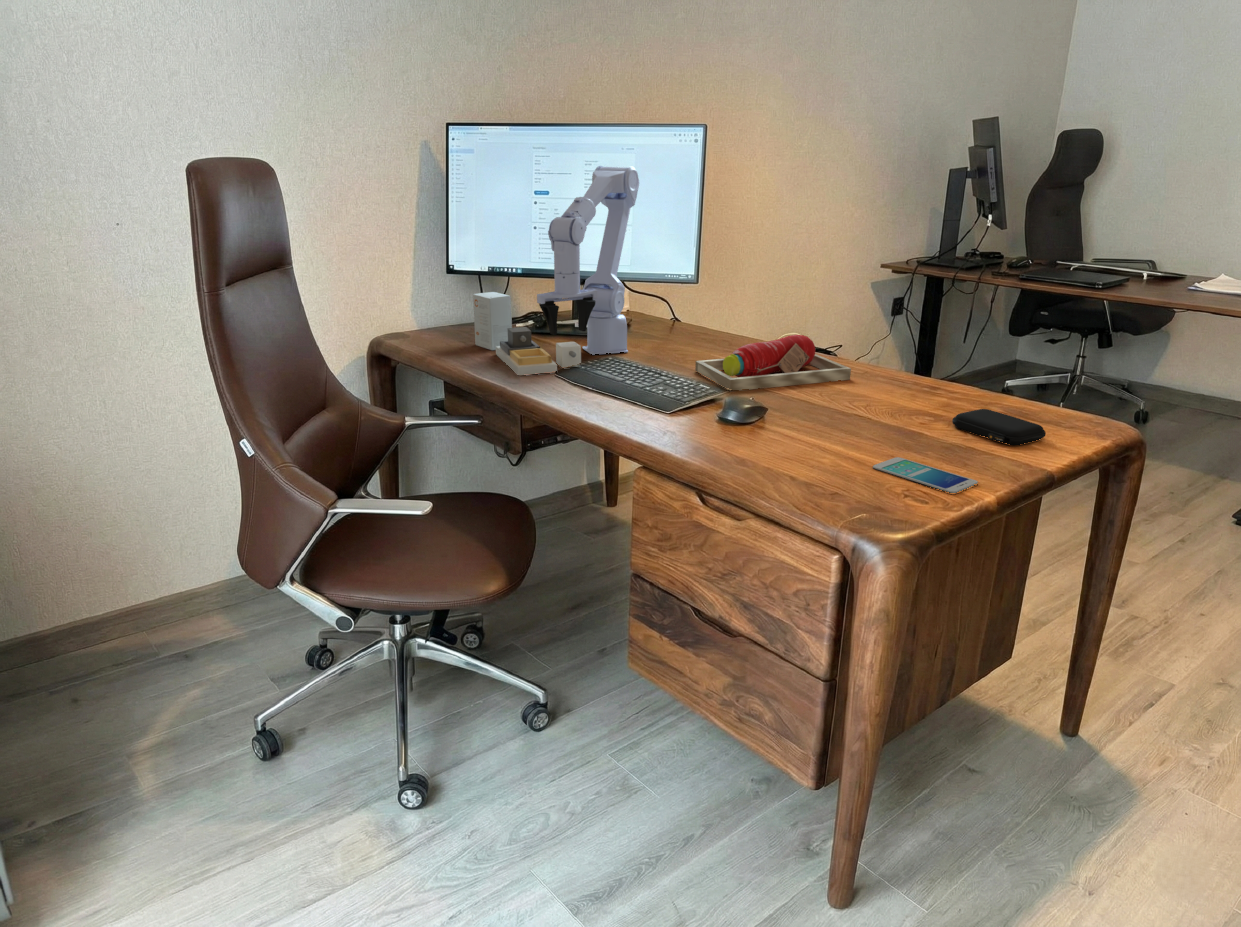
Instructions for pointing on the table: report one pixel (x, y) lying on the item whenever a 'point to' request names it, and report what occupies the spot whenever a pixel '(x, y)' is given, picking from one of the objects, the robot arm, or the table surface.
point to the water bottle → (770, 357)
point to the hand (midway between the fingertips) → (567, 332)
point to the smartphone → (925, 475)
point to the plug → (568, 354)
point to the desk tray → (775, 375)
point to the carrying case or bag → (999, 426)
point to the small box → (491, 319)
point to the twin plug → (519, 337)
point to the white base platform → (526, 359)
